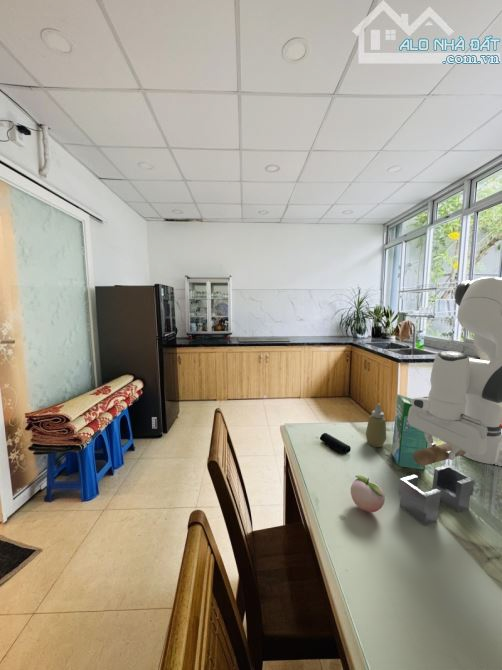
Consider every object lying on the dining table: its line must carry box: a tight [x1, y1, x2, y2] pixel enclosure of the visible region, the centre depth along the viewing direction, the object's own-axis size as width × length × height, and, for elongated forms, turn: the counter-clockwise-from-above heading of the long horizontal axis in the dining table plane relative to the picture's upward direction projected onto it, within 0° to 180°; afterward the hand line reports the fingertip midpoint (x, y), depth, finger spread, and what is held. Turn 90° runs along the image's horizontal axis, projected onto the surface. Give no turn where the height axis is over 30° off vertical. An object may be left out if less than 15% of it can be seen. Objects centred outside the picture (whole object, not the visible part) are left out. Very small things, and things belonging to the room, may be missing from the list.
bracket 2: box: [431, 464, 475, 513], centre depth 84 cm, size 6×8×9 cm
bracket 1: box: [398, 474, 441, 527], centre depth 79 cm, size 6×8×9 cm
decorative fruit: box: [350, 474, 386, 513], centre depth 79 cm, size 9×8×10 cm
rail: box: [413, 442, 466, 467], centre depth 80 cm, size 17×4×4 cm
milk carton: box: [391, 394, 428, 471], centre depth 104 cm, size 9×9×25 cm
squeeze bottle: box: [365, 403, 387, 448], centre depth 117 cm, size 8×8×18 cm
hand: (440, 453), depth 80 cm, fingers closed on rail, 4 cm apart
